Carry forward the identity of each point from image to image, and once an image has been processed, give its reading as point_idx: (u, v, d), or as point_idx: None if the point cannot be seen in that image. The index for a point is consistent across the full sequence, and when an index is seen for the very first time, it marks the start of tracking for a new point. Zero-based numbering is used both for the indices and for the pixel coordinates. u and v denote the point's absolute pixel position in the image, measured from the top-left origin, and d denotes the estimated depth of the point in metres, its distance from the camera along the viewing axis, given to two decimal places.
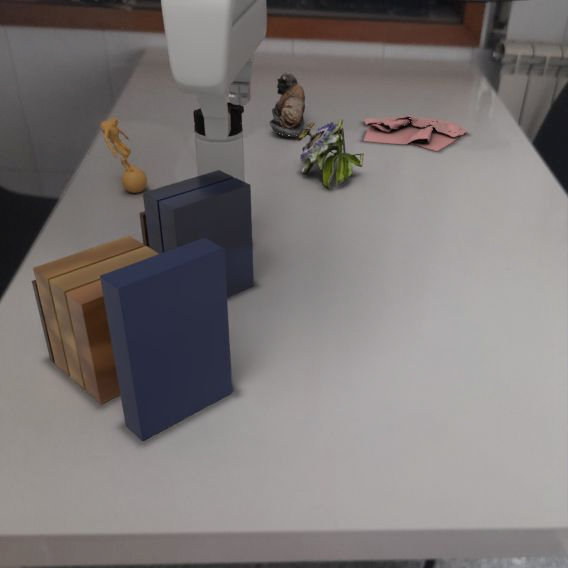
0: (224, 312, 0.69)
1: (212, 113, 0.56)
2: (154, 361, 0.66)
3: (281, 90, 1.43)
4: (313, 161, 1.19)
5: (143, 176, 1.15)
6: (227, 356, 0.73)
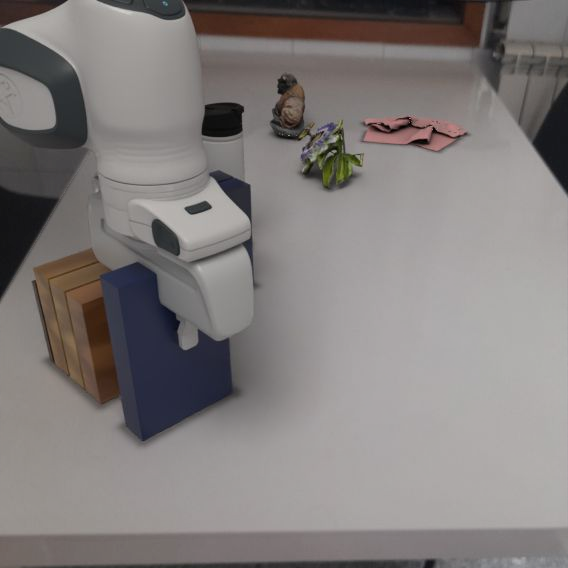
0: None
1: (190, 330, 0.65)
2: (153, 360, 0.66)
3: (281, 90, 1.43)
4: (313, 161, 1.19)
5: None
6: (227, 356, 0.73)
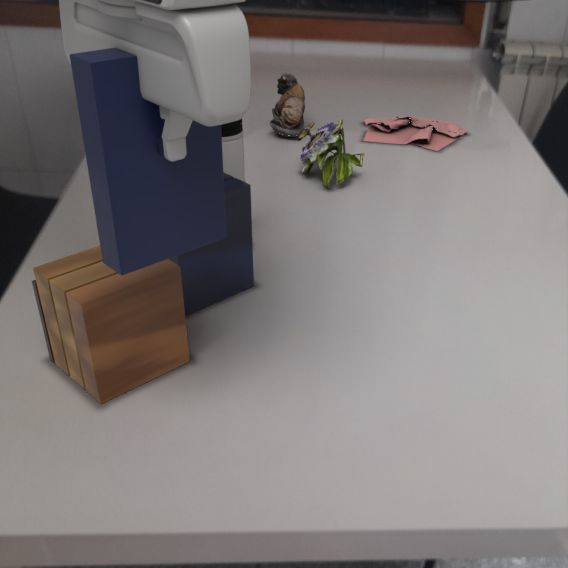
0: (216, 128, 0.60)
1: (176, 134, 0.56)
2: (134, 172, 0.56)
3: (281, 90, 1.43)
4: (313, 161, 1.19)
5: None
6: (221, 189, 0.63)
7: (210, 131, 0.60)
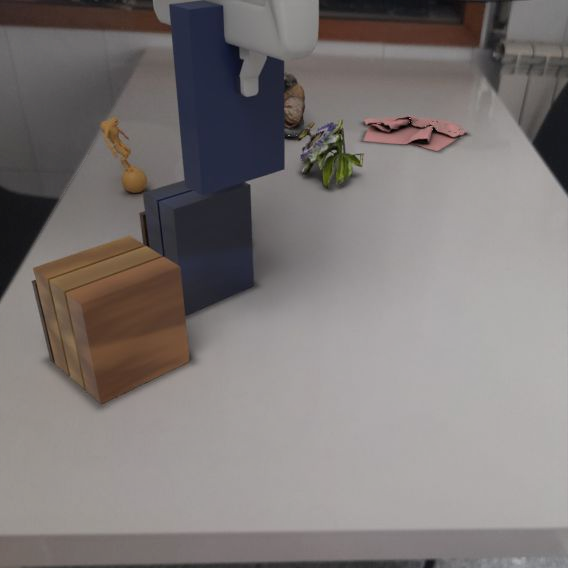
0: (280, 72, 0.72)
1: (252, 73, 0.67)
2: (216, 105, 0.68)
3: None
4: (313, 161, 1.19)
5: (143, 176, 1.15)
6: (282, 125, 0.75)
7: (275, 74, 0.71)
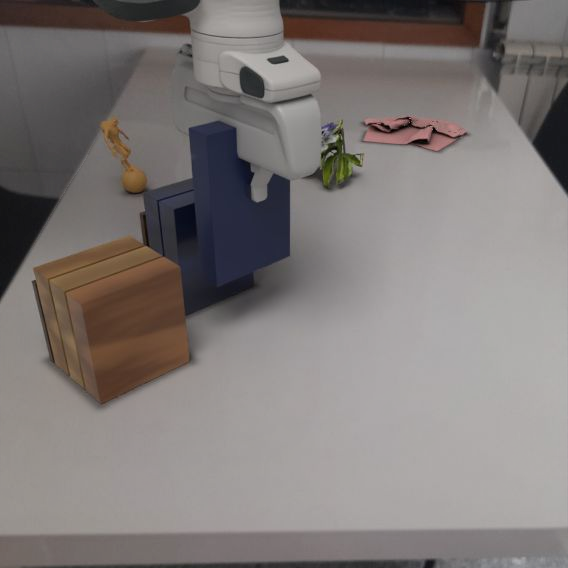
0: None
1: (262, 182, 0.75)
2: (230, 210, 0.76)
3: None
4: None
5: (143, 176, 1.15)
6: (288, 220, 0.83)
7: (282, 177, 0.79)
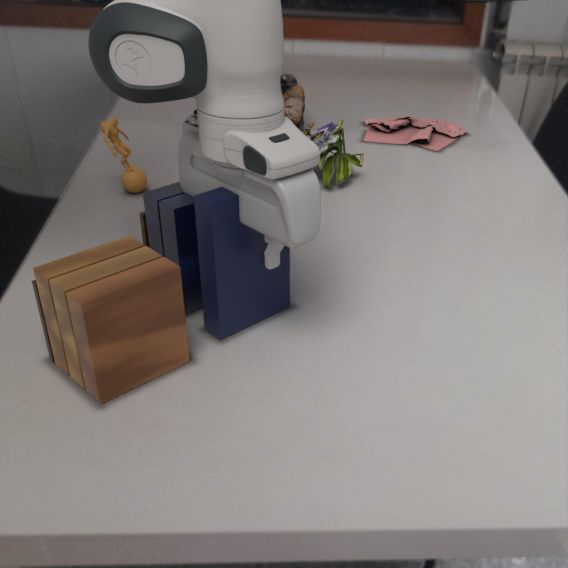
0: None
1: (275, 251, 0.78)
2: (232, 270, 0.80)
3: (281, 90, 1.43)
4: None
5: (143, 176, 1.15)
6: (287, 274, 0.87)
7: None
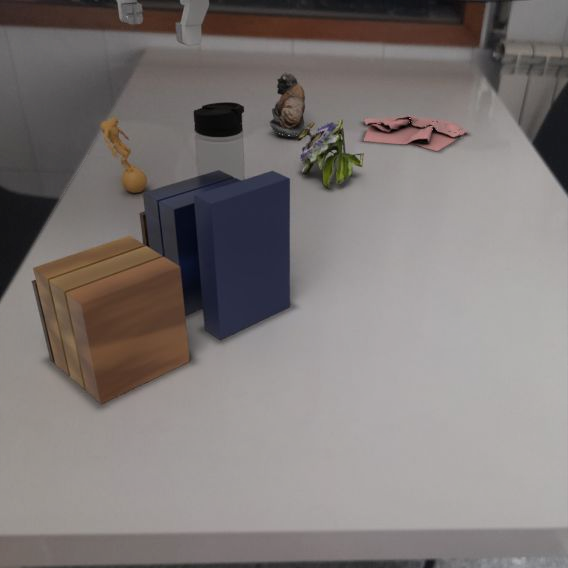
0: (287, 233, 0.84)
1: (194, 20, 0.64)
2: (232, 270, 0.80)
3: (281, 90, 1.43)
4: (313, 161, 1.19)
5: (143, 176, 1.15)
6: (287, 274, 0.87)
7: (282, 236, 0.84)
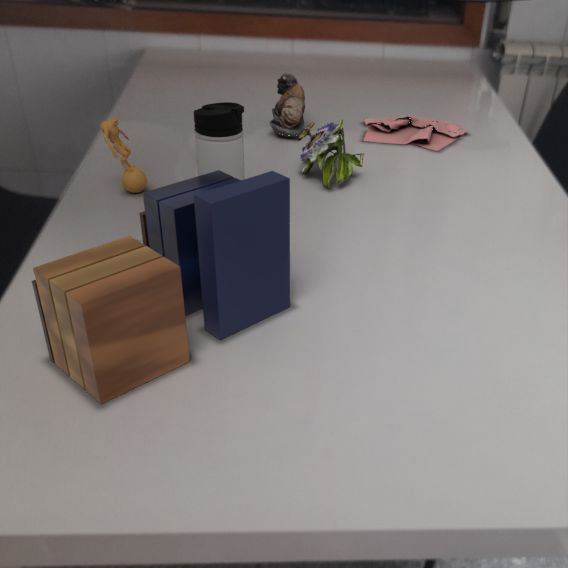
0: (287, 233, 0.84)
1: None
2: (232, 270, 0.80)
3: (281, 90, 1.43)
4: (313, 161, 1.19)
5: (143, 176, 1.15)
6: (287, 274, 0.87)
7: (282, 236, 0.84)
